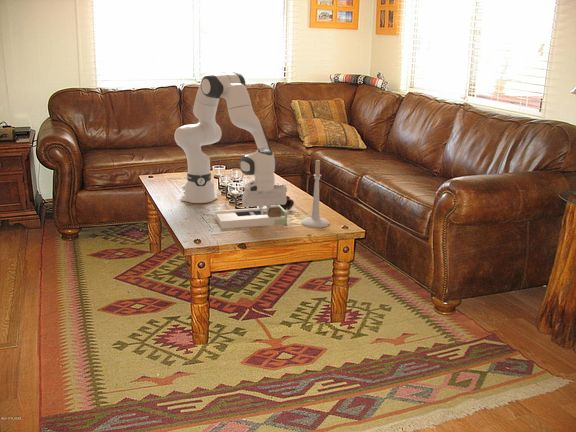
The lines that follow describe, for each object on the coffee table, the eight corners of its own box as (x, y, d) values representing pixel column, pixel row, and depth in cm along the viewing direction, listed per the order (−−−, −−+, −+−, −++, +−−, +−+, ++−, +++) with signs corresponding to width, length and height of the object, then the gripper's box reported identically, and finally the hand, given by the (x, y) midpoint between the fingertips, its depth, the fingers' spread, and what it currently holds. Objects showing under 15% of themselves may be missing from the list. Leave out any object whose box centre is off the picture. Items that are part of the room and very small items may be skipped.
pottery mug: (268, 211, 302) (269, 195, 304) (279, 215, 310) (281, 200, 312) (288, 209, 295) (289, 193, 297) (299, 214, 303) (300, 198, 305)
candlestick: (308, 229, 276) (311, 163, 267) (296, 220, 287) (298, 157, 278) (334, 226, 281) (337, 161, 272) (321, 218, 292) (324, 155, 283)
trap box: (215, 218, 288) (215, 206, 286) (277, 213, 297) (277, 202, 295) (222, 228, 273) (222, 216, 272) (286, 224, 282) (287, 212, 281)
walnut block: (267, 215, 286) (267, 206, 284) (278, 214, 287) (278, 205, 286) (270, 218, 281) (270, 209, 280) (281, 217, 282) (281, 208, 281)
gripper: (284, 182, 284) (284, 211, 288) (241, 184, 278) (241, 214, 282) (288, 185, 278) (288, 215, 282) (244, 188, 273) (244, 218, 277)
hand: (264, 214), depth 282 cm, fingers closed
